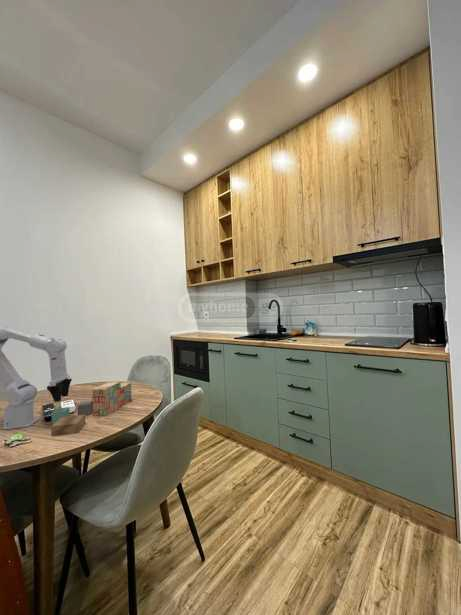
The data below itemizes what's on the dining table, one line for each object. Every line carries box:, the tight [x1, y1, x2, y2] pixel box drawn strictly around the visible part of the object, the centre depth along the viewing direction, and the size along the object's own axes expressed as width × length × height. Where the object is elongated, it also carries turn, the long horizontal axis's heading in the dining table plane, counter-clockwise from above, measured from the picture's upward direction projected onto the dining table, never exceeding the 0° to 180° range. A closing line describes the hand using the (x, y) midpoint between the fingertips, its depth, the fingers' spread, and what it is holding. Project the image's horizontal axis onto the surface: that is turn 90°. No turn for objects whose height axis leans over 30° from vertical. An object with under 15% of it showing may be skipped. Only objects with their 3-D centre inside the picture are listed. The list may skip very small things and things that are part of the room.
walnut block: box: [50, 414, 86, 437], centre depth 101 cm, size 9×9×4 cm
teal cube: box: [51, 406, 71, 425], centre depth 110 cm, size 5×5×5 cm
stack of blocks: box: [92, 381, 132, 417], centre depth 125 cm, size 21×6×12 cm, turn 170°
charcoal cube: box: [77, 400, 93, 417], centre depth 118 cm, size 5×5×5 cm
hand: (61, 398), depth 111 cm, fingers open, 7 cm apart
